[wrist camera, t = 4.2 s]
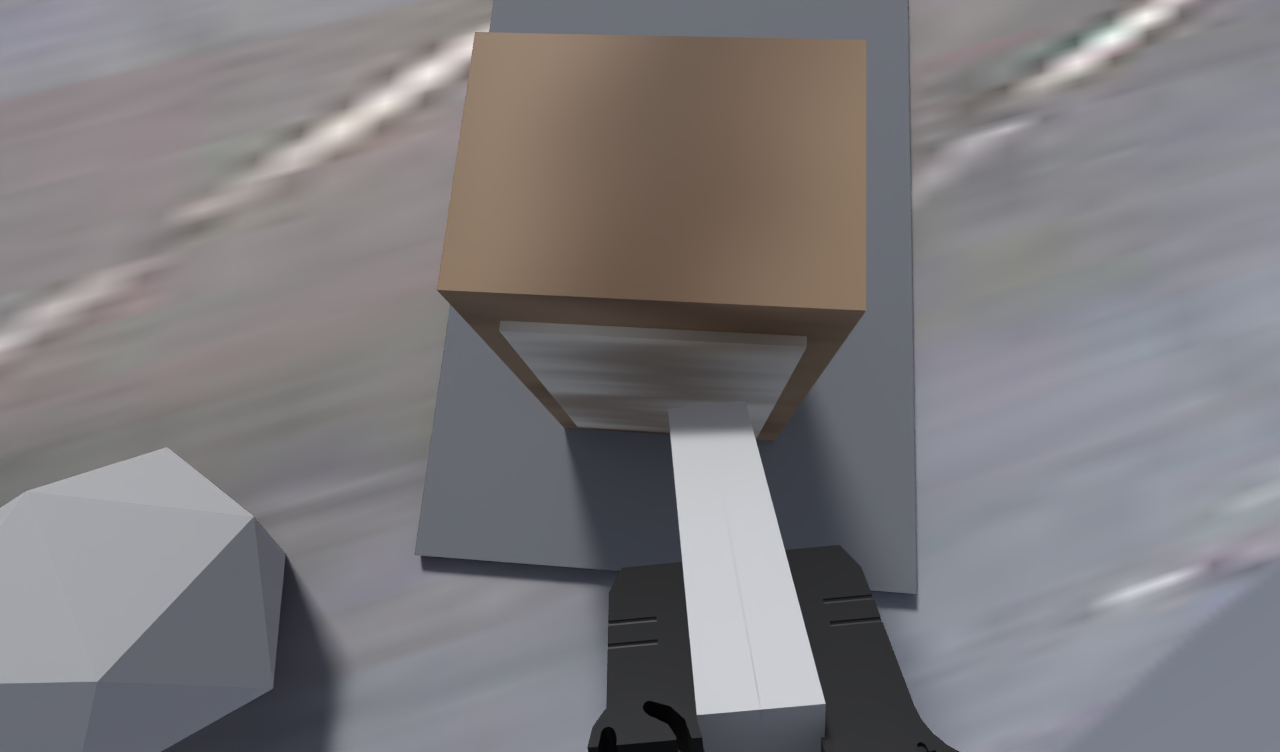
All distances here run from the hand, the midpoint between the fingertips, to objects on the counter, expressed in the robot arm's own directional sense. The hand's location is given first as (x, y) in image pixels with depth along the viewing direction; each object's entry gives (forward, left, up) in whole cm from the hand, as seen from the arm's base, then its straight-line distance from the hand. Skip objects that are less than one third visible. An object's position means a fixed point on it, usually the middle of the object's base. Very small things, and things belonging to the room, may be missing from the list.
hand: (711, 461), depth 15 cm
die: (-16, -4, -10) cm, 20 cm away
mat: (-1, +10, -10) cm, 14 cm away
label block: (-1, +5, -10) cm, 11 cm away
